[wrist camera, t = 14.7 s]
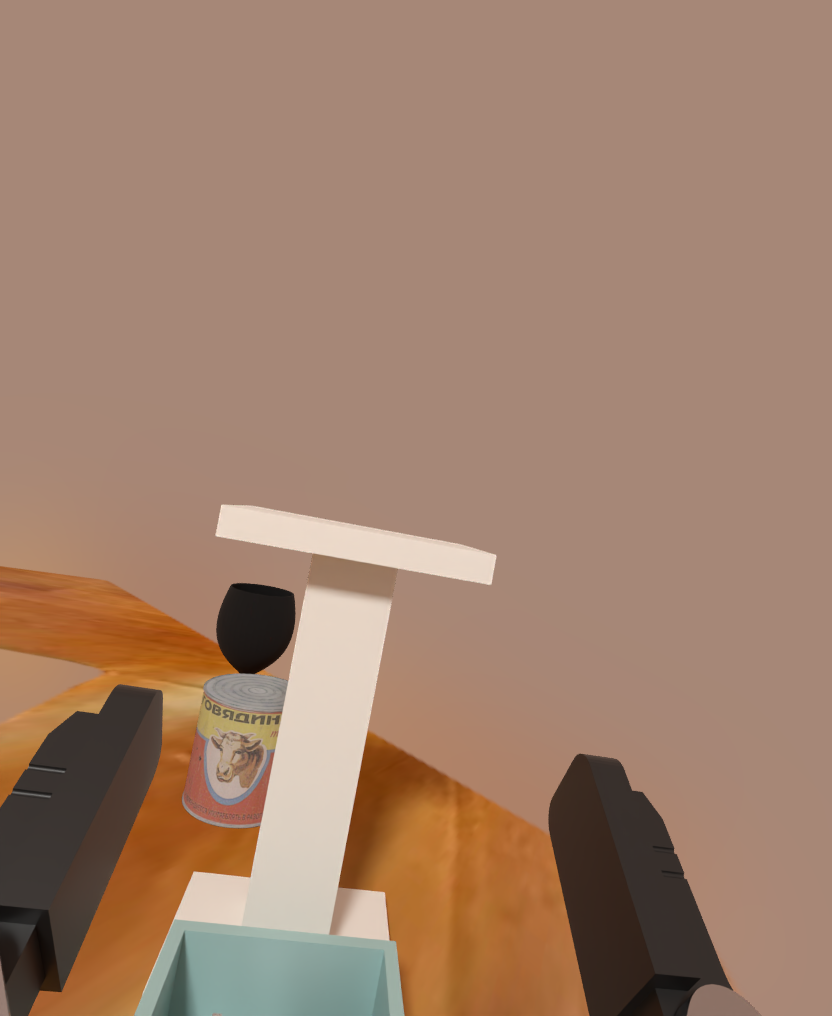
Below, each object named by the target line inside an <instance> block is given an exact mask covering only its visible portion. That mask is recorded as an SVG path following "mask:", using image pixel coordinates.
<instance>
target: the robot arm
mask: <svg viewBox="0 0 832 1016" xmlns="http://www.w3.org/2000/svg"><path fill="white" fill-rule="evenodd" d="M162 710H163V694H162V691H161V690H155V689H148V688H141V687H134V686H127V685H121V684H120V685H117V686H116V687H115V688H114V689H113V691H112V692H111V694H110V695H109V697H108V699H107V701H106V702H105V704H104V706H103V707H102V709H101V711H100V713H99V714H94V713H87V712H80V711H77V712H75V713H74V714H73V715H72V716H70V717H69V718H68V719H67V720H65V721H64V722H63V723H62V724H61V725H59V726H58V727H57V728H56V729H54V730H53V731H52V732H51V733H49V734H48V736H47V737H46V739H45V740H44V742H43V743H42V745H41V746H40V748H39V749H38V751H37V752H36V754H35V756H34V757H33V759H32V760H31V762H30V763H29V767H28V769H27V770H25V771H24V772H23V774H22V775H21V777H20V779H19V780H18V782H17V783H16V785H15V786H14V788H13V792H12V793H11V795H8V797H7V798H6V800H5V802H4V803H3V805H2V806H1V808H0V1016H28V1014H29V1012H30V1010H31V1008H32V1006H33V1003H34V1001H35V999H36V997H37V995H38V992H39V990H41V991H53V992H62V990H63V987H64V985H65V983H66V980H67V978H68V976H69V973H70V971H71V969H72V966H73V964H74V962H75V959H76V957H77V955H78V952H79V950H80V948H81V945H82V943H83V941H84V938H85V936H86V934H87V931H88V929H89V927H90V924H91V922H92V920H93V917H94V915H95V913H96V910H97V908H98V906H99V903H100V901H101V899H102V896H103V894H104V892H105V889H106V887H107V885H108V882H109V880H110V878H111V875H112V873H113V871H114V868H115V866H116V864H117V861H118V859H119V856H120V854H121V852H122V849H123V847H124V845H125V842H126V840H127V838H128V835H129V833H130V831H131V828H132V826H133V824H134V821H135V819H136V817H137V814H138V812H139V810H140V807H141V805H142V803H143V800H144V798H145V796H146V793H147V791H148V789H149V786H150V784H151V782H152V779H153V777H154V774H155V771H156V768H157V765H158V761H159V757H160V752H161V746H162ZM549 831H550V837H551V841H552V846H553V850H554V855H555V859H556V864H557V869H558V873H559V878H560V882H561V887H562V892H563V896H564V901H565V905H566V910H567V914H568V919H569V924H570V928H571V933H572V937H573V942H574V947H575V951H576V956H577V960H578V965H579V969H580V974H581V979H582V983H583V988H584V992H585V997H586V1002H587V1006H588V1011H589V1015H590V1016H761V1015H760V1014H759V1012H758V1011H757V1010H756V1009H755V1008H754V1007H753V1006H752V1005H751V1004H750V1003H749V1002H748V1001H747V1000H745V999H744V998H743V997H742V996H740V995H739V994H737V993H736V992H734V991H733V989H732V988H731V986H730V984H729V982H728V980H727V978H726V976H725V974H724V971H723V969H722V966H721V964H720V961H719V959H718V956H717V954H716V951H715V949H714V946H713V944H712V941H711V939H710V936H709V934H708V931H707V929H706V926H705V924H704V922H703V919H702V916H701V914H700V911H699V909H698V906H697V904H696V901H695V899H694V896H693V894H692V892H691V889H690V886H689V884H688V882H687V879H684V871H683V869H682V866H681V864H680V862H679V859H678V857H677V854H674V846H673V844H672V842H671V839H670V836H669V834H668V832H667V829H666V826H665V824H664V822H663V819H662V818H661V816H660V815H659V814H658V812H657V811H656V810H655V808H654V807H653V806H652V804H651V803H650V802H649V800H648V799H647V798H646V796H645V795H644V794H643V792H638V791H632V789H631V787H630V785H629V781H628V779H627V776H626V773H625V770H624V768H623V766H622V764H621V763H620V762H619V761H618V760H617V759H613V758H607V757H600V756H593V755H585V754H579V755H577V756H576V757H575V758H574V760H573V761H572V763H571V765H570V767H569V769H568V770H567V773H566V774H565V776H564V778H563V779H562V781H561V783H560V785H559V787H558V789H557V790H556V792H555V794H554V796H553V798H552V800H551V803H550V808H549Z"/></svg>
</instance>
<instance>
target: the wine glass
mask: <svg viewBox="0 0 832 1016" xmlns="http://www.w3.org/2000/svg"><path fill="white" fill-rule="evenodd" d="M294 625H295V600H294V594H293V593H292V592H289V591H287V590H283V589H280V588H276V587H271V586H265V585H258V584H247V583H237V584H232V585H231V586H230V588H229V590H228V592H227V594H226V596H225V598H224V600H223V603H222V605H221V608H220V611H219V615H218V620H217V628H216V632H217V640H218V644H219V647H220V649H221V651H222V653H223V655H224V656H225V658H226V659H227V660H228V661H229V663H230V664H231V665H232V666H233V667H234V668H235V669H236V670H237V671H238V672H239V673H240V674H255V673H257V672H259V671H261V670H263V669H265V668H266V667H268V666H269V665H271V664H272V663H274V662H275V661H276V660H277V659H278V658H279V657H280V656H281V655H282V654H283V653H284V651H285V650H286V648H287V646H288V645H289V643H290V640H291V638H292V634H293V630H294Z"/></svg>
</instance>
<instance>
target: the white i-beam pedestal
mask: <svg viewBox="0 0 832 1016" xmlns="http://www.w3.org/2000/svg"><path fill="white" fill-rule="evenodd" d="M216 536H219V537H224V538H230V539H236V540H241V541H247V542H252V543H258V544H264V545H269V546H275V547H281V548H286V549H292V550H297V551H303V552H309V553H313V556H312V561H311V566H310V571H309V576H308V582H307V587H306V592H305V598H304V602H303V607H302V613H301V618H300V623H299V628H298V634H297V639H296V644H295V649H294V655H293V660H292V665H291V670H290V675H289V680H288V686H287V691H286V696H285V701H284V706H283V712H282V717H281V722H280V727H279V732H278V738H277V743H276V748H275V753H274V758H273V764H272V769H271V774H270V779H269V784H268V790H267V795H266V800H265V805H264V811H263V816H262V821H261V826H260V831H259V837H258V842H257V847H256V852H255V857H254V863H253V868H252V873H251V878H248V877H239V876H230V875H221V874H212V873H203V872H194V873H193V875H192V878H191V880H190V882H189V885H188V887H187V890H186V892H185V894H184V897H183V899H182V901H181V904H180V906H179V908H178V911H177V913H176V916H175V918H174V919H177V920H187V921H197V922H207V923H217V924H227V925H237V926H247V927H257V928H267V929H277V930H287V931H297V932H307V933H317V934H327V935H337V936H347V937H357V938H367V939H377V940H387V941H389V931H388V921H387V911H386V901H385V892H376V891H367V890H358V889H349V888H339V887H338V884H339V879H340V873H341V868H342V863H343V858H344V852H345V847H346V842H347V836H348V831H349V826H350V820H351V815H352V810H353V804H354V799H355V794H356V788H357V783H358V778H359V773H360V767H361V762H362V757H363V751H364V746H365V741H366V735H367V730H368V725H369V719H370V713H371V709H372V703H373V698H374V693H375V687H376V682H377V677H378V672H379V666H380V661H381V656H382V650H383V645H384V640H385V634H386V628H387V624H388V618H389V613H390V608H391V602H392V597H393V591H394V587H395V581H396V576H397V570H398V568H399V569H404V570H410V571H416V572H421V573H427V574H432V575H439V576H444V577H450V578H455V579H461V580H466V581H473V582H478V583H483V584H489V585H491V583H492V577H493V572H494V567H495V561H496V555H494V554H490V553H488V552H484V551H481V550H478V549H474V548H471V547H468V546H465V545H461V544H456V543H451V542H446V541H440V540H435V539H429V538H424V537H419V536H413V535H408V534H402V533H397V532H391V531H386V530H380V529H375V528H370V527H364V526H359V525H354V524H348V523H343V522H337V521H332V520H327V519H321V518H316V517H310V516H304V515H300V514H294V513H289V512H283V511H278V510H272V509H267V508H262V507H257V506H245V505H244V506H243V505H221V511H220V516H219V521H218V526H217V531H216ZM173 922H174V920H173ZM172 924H173V923H172ZM171 927H172V925H171ZM171 927H170V929H171ZM169 931H170V930H169ZM168 934H169V932H168ZM167 936H168V935H167ZM166 938H167V937H166ZM165 941H166V939H165ZM164 943H165V942H164ZM163 946H164V944H163ZM163 946H162V948H163ZM161 950H162V949H161ZM160 953H161V951H160ZM159 955H160V954H159ZM158 957H159V956H158ZM157 960H158V958H157ZM156 962H157V961H156ZM155 965H156V963H155ZM155 965H154V967H155ZM153 969H154V968H153ZM152 972H153V970H152ZM151 974H152V973H151ZM150 977H151V975H150ZM150 977H149V979H150ZM148 981H149V980H148ZM147 984H148V982H147ZM147 984H146V986H147ZM145 988H146V987H145ZM144 991H145V989H144ZM143 993H144V992H143ZM142 996H143V995H142Z"/></svg>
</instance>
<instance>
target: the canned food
mask: <svg viewBox="0 0 832 1016" xmlns="http://www.w3.org/2000/svg"><path fill="white" fill-rule="evenodd" d="M287 686H288V681H287V680H284V679H280V678H276V677H271V676H265V675H257V674H227V675H221V676H217V677H214V678H212V679H210V680H208V681H207V682H206V683H205V684H204V693H203V698H202V703H201V709H200V714H199V719H198V724H197V729H196V734H195V739H194V744H193V749H192V755H191V760H190V765H189V770H188V775H187V780H186V785H185V790H184V792H183V796H182V803H183V806H184V808H185V809H186V810H187V812H189V813H190V814H191V815H192V816H193V817H195V818H197V819H199V820H201V821H203V822H205V823H208V824H211V825H215V826H220V827H226V828H251V827H257V826H261V821H262V816H263V811H264V805H265V800H266V795H267V790H268V784H269V779H270V774H271V769H272V764H273V758H274V753H275V748H276V743H277V738H278V732H279V727H280V722H281V717H282V712H283V706H284V701H285V696H286V691H287Z"/></svg>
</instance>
